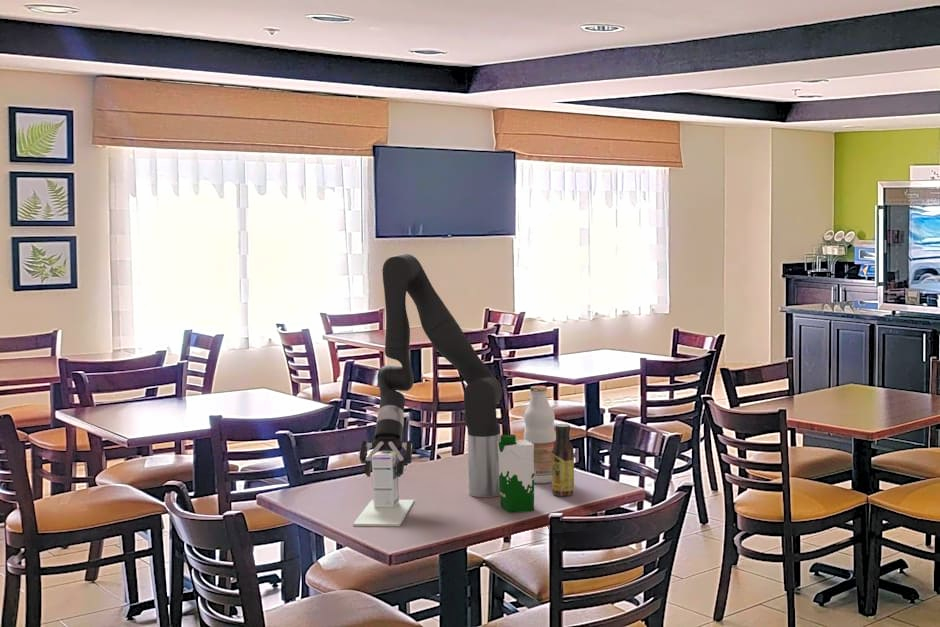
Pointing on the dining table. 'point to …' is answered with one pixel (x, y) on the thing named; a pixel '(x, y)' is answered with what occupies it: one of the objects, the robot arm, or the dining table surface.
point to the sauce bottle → (562, 462)
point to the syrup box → (385, 479)
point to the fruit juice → (540, 433)
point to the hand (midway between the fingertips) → (383, 475)
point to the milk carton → (516, 474)
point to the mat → (384, 514)
